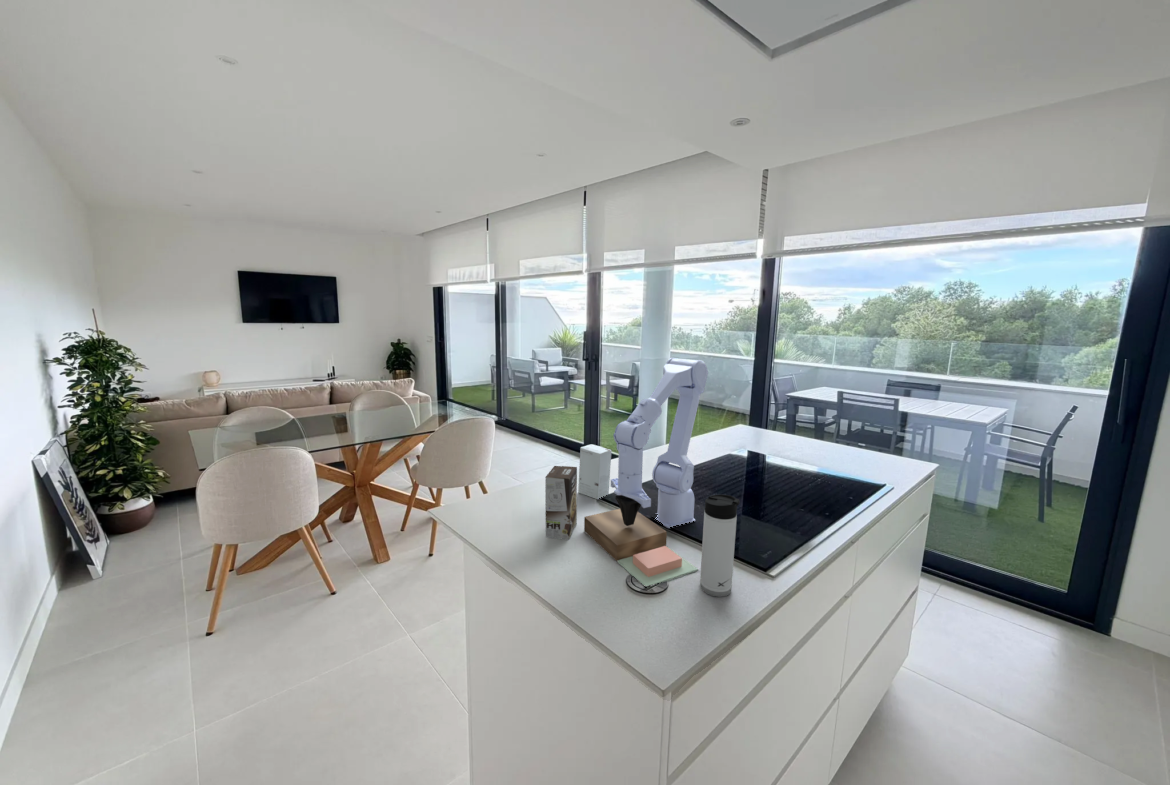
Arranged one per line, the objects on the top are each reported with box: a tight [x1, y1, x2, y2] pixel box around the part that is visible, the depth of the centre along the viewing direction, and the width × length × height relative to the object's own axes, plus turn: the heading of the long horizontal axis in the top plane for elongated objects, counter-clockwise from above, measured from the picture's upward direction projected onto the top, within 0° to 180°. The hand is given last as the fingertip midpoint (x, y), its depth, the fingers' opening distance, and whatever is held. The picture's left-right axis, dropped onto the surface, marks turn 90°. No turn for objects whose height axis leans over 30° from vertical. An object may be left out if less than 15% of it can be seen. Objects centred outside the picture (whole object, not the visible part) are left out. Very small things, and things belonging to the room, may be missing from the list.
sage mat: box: [617, 545, 699, 586], centre depth 102 cm, size 14×11×1 cm
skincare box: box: [577, 444, 612, 500], centre depth 140 cm, size 8×6×15 cm
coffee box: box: [544, 465, 578, 541], centre depth 117 cm, size 9×6×16 cm
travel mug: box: [699, 494, 741, 598], centre depth 93 cm, size 6×7×20 cm
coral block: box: [633, 545, 682, 577], centre depth 102 cm, size 9×6×2 cm, turn 117°
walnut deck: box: [583, 508, 668, 562], centre depth 114 cm, size 14×16×4 cm
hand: (628, 524), depth 112 cm, fingers closed
